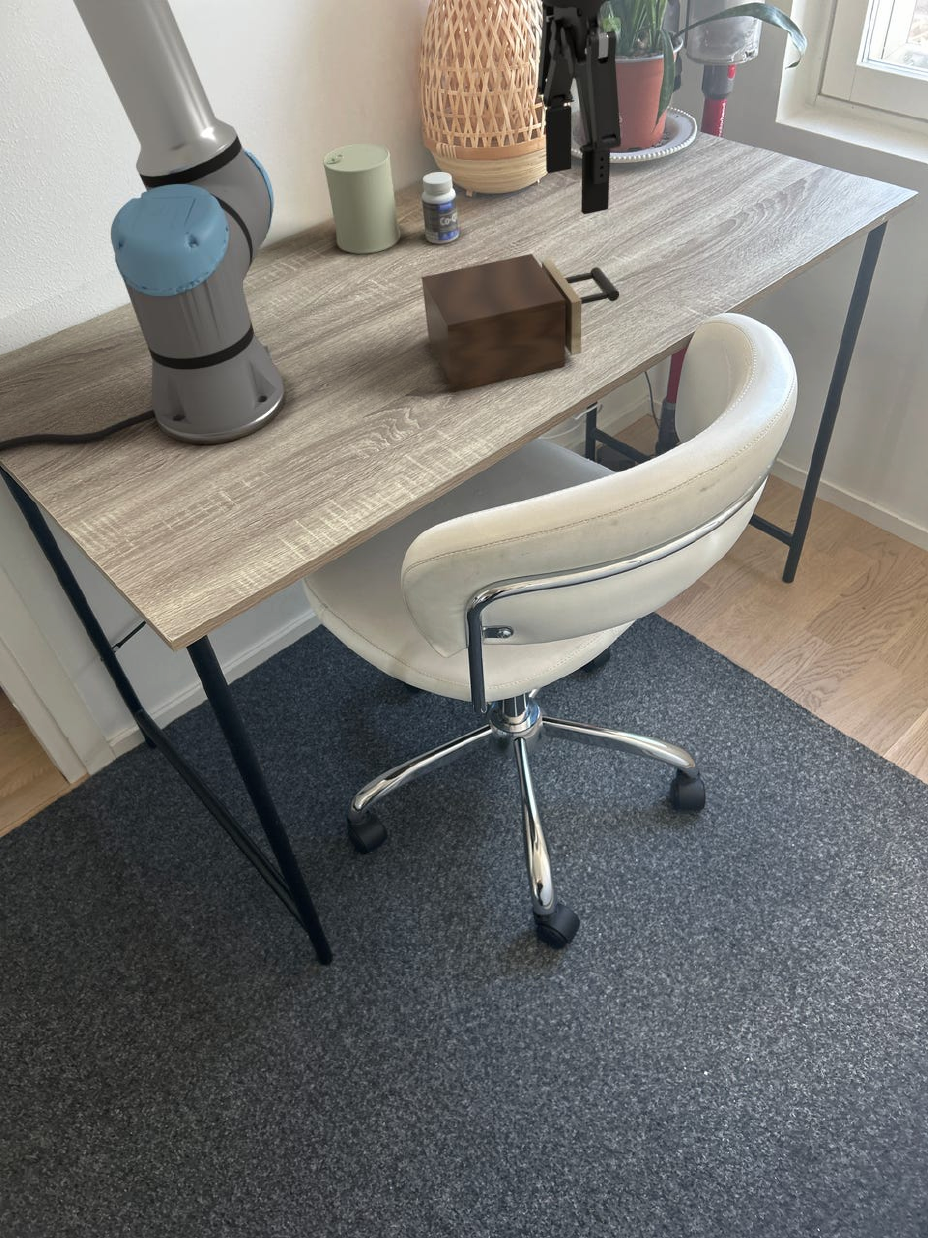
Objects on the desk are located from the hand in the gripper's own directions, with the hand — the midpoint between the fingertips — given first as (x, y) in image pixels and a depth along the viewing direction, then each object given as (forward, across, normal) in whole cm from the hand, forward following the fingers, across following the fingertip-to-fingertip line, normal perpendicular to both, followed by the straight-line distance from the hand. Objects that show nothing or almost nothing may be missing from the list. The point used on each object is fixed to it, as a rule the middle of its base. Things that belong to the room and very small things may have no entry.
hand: (576, 189), depth 106 cm
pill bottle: (+18, +32, +8) cm, 38 cm away
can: (+18, +36, +18) cm, 44 cm away
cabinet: (+18, 0, +10) cm, 21 cm away
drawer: (+17, 0, +5) cm, 18 cm away
